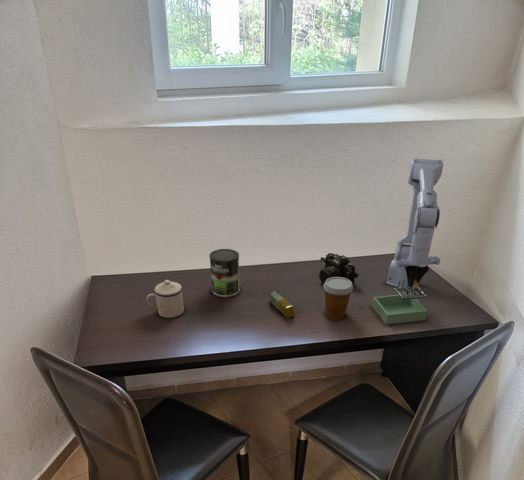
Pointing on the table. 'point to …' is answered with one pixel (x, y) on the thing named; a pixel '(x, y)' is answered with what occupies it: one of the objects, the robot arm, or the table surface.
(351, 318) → the table surface
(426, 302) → the table surface
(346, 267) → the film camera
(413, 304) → the green open tray
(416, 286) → the dish rack
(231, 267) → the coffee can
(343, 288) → the disposable coffee cup
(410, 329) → the table surface
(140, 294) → the table surface
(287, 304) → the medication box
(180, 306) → the teacup with lid
